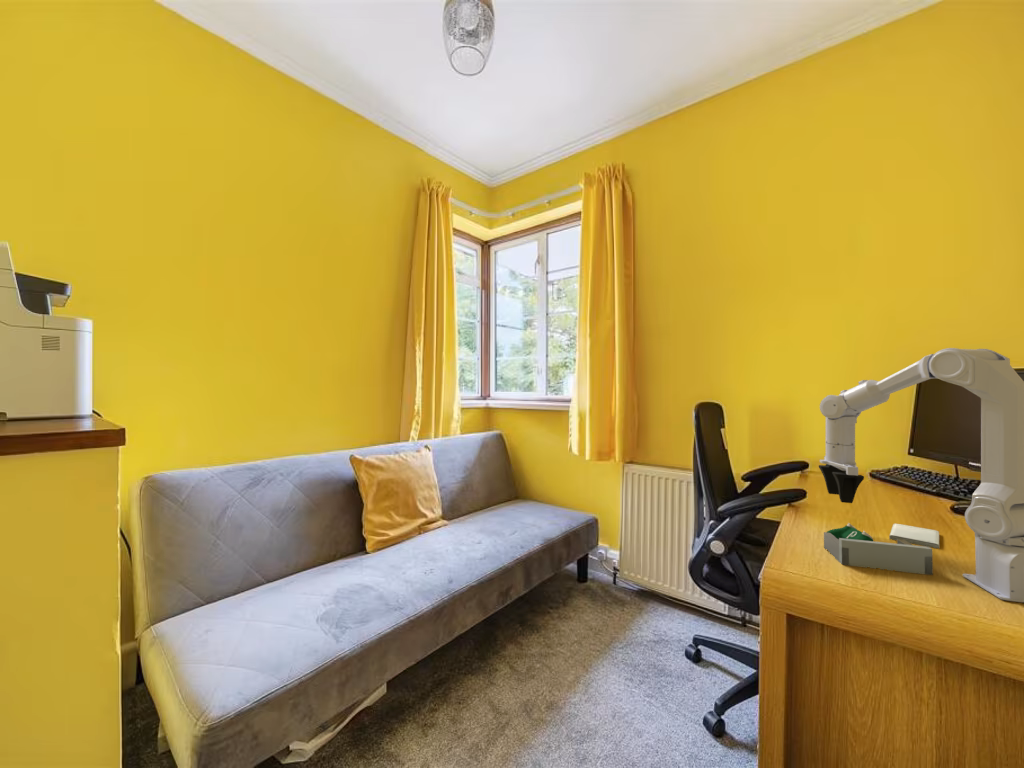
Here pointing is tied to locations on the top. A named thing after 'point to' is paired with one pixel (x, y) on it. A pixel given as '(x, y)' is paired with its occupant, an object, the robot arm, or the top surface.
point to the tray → (881, 554)
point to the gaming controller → (850, 533)
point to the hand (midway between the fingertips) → (839, 498)
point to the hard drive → (915, 535)
